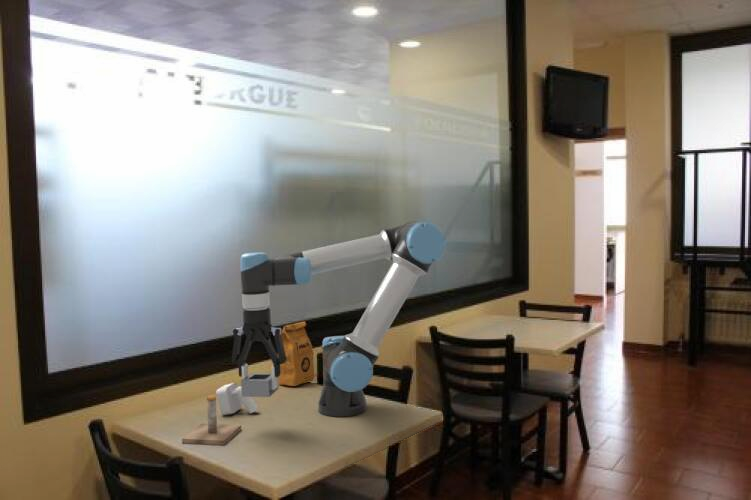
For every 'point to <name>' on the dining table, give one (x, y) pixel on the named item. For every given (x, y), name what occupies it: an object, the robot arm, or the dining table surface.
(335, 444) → the dining table surface
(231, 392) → the wall hook
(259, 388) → the link
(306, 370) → the coffee package
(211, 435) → the keeper
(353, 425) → the dining table surface
